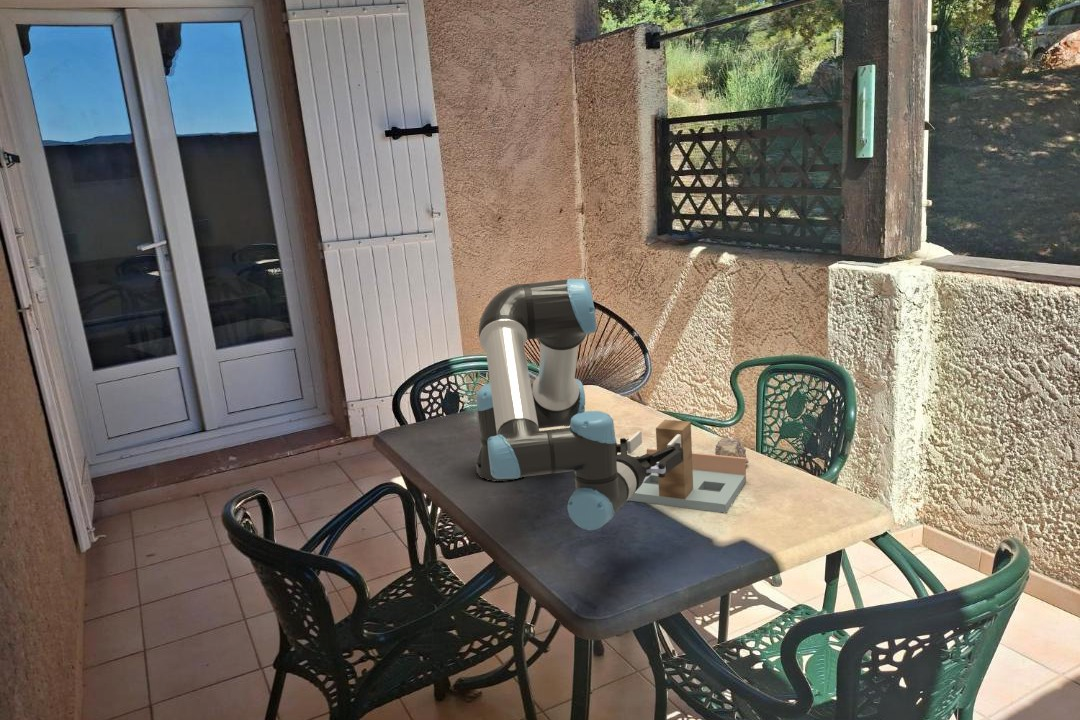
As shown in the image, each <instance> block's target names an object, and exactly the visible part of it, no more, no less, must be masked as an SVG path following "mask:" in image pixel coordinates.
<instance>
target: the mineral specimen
mask: <svg viewBox="0 0 1080 720" xmlns="http://www.w3.org/2000/svg"><path fill="white" fill-rule="evenodd" d="M714 450H715V452H714V455H722V456H732V457H742V458H746V464H748V463H749V459H748V458H747V454H746V452H747V451H746V450H747V449H746V448H745V446H744V444H743V443H742V441H741V440H739V439H738V438H737V439H736V438H729V437H722V438H721V439H719V441H717V443H716V444H715V449H714Z"/></svg>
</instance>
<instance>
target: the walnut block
mask: <svg viewBox="0 0 1080 720" xmlns="http://www.w3.org/2000/svg"><path fill="white" fill-rule="evenodd" d="M677 434H680V435H681V448H682V449H683V460H684V461H683V462H681V463H680V464H678V465H677V466H676V467H674V468H673V469H671V470H670V471H669V472H667V473H666V476H665V477H659V475H658V483H659V496H662V497H670V498H678V499H686V498H687V496H688V495H689V494H690V493H691V491H692V490H693V467H692V453H693V448H692V447H693V445H692V443H693V442H692V422H691V421H689V420H688V421H687V420H675V419H663V420H662V421H661V422H660V423H659V424H658V426H656V428H655V437H656V438H655V439H656V442H655V443H656V449H657V452H658V451H661V450H663V449H666V448H667V444H668V443H669V442H670V441H671V440H672V439H673V438H674V437H675V436H676V435H677Z"/></svg>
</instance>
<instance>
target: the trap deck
mask: <svg viewBox="0 0 1080 720" xmlns="http://www.w3.org/2000/svg"><path fill="white" fill-rule="evenodd" d="M656 452H657V448H649V447H648V448H646V454H650V455H651V454H653V453H656ZM746 458H747V457H746ZM746 458H742V457H732V456H722V455H715V454H712V453H711V454H709V453H698V452H692V467H693V490H692V491H691V493H690V494H689V495H688V496H687V498H686V499H678V498H670V497H662V496H659V483H658V474H657V473H651V475H649V476H647V477H645V479H644V481H643V483H642V485H641V486H640V487H639V488H638V489H637V491H636V492H635V493H634V494H633V495H632V496H631V497H630V498H629V499H628V500H627V501H631V502H638V503H647V504H653V505H660V504H661V505H660V506H662V505H663V506H667V505H670V506H669V507H675V506H677V507H676V508H685V509H693V510H698V509H699V511H706V510H707V511H709V512H714V511H716V512H715V513H721V512H725V513H724V514H727V513H728V511H729V509H730V508H731V506H732V505H733V503H734V502H733V501H735V500H736V498H737V497H738V495H739V494H740V492H741V491H742V489H743V488H744V486H745V485H746V482H747V467H746V465H747V463H746ZM731 504H732V505H731ZM729 507H730V508H729Z"/></svg>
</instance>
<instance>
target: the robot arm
mask: <svg viewBox="0 0 1080 720" xmlns="http://www.w3.org/2000/svg"><path fill="white" fill-rule="evenodd" d="M595 310H596V309H595V305H594V298H593V293H592V290H591V284H590V283H589V282H588V280H586V279H584V278H567V279H560V280H559V279H557V280H550V281H549V280H548V281H539V282H531V283H517V284H514V285H510V286H508V287H506V288H504V289H502V290H501V291H499V292H498V293H497V294H496V295H495V296H494V297H492V299H491V300H490V301H489V302H488V303H487V305H486V307H485V308H484V310H483V312H482V315H481V317H480V320H479V324H478V325H479V326H478V340H479V345H480V347H481V349H482V350H483V351H484V352H485V355H486V361H487V362H486V363H487V369H488V376H489V383H486V384H485V385H483V386H481V387H480V388H479V389H478V391H477V392H476V411H477V415H478V418H477V419H478V426H479V437H480V447H479V448H480V449H479V452H478V457H477V460H476V461H477V462H476V474H477V473H478V475H479V476H481V477H482V478H485V479H489V480H496V481H497V480H498V481H503V480H504V482H507V481H506V480H513V479H518V478H521V479H523V478H522V477H524V478H527V477H532V476H533V477H534V476H543V475H549V474H559V473H567V472H568V473H569V472H574V473H573V474H574V483H575V490H574V491H573V493H572V494H571V496H570V497H569V499H568V502H567V508H566V509H567V511H568V512H567V513H568V515H569V518H570V519H571V520H572V522H573V523H574V524H575V525H576V526H578V527H579V528H580V529H583V530H587V531H595V530H598V529H600V528H602V527H603V526H604V525H606V524H607V523H608V522H610V521H611V520H612V519H613V517H614V516H615V515H616V514H617V513H618V511H619V510H620V509H621V508H622V507H623V506H624V505H625V503H627V501H629V500H628V499H629V498H630V497H631V496H632V495H633V494H634V493H635V492H636V491H637V489H638V488H639V487H640V486H641V485H642V483H643V481H644V479H645V477H647V476H649V475H651V473H657V474H658V475H659V477H665V476H666V473H667V472H669V471H670V470H671V469H673V468H674V467H676V466H677V465H678V464H680V463H681V462H683V461H684V460H683V449H682V448H681V435H680V434H677V435H676V436H675V437H674V438H673V439H672V440H671V441H670V442H669V443H668V444H667V448H666V449H663V450H661V451H658V452H656V453H653V454H651V455H650V454H647V453H645V454H643V455H641V456H640V455H639V456H638V455H637V456H632V453H634V451H636V450H637V449H638V448H639V447H640V446H641V445H642V443H643V437H642V436H643V435H642V434H643V433H642V430H637V431H635V433H634V434H633V435H632V436H631V437H630V438H624V437H623V438H620V439H619V443H617V438H616V431H615V423H614V419H613V417H612V416H611V415H610V414H609V413H606V412H603V411H597V410H590V411H589V410H587V411H586V407H585V406H586V394H585V388H584V385H583V382H582V381H581V380H580V379H578V378H576V370H577V362H578V361H577V360H578V354H579V353H578V351H579V346H580V345H581V344H582V343H584V341H585V339H586V337H587V335H591V334H594V333H596V332H597V330H598V325H597V317H596V311H595ZM528 340H537V341H538V342H539V345H540V346H539V366H538V367H539V369H538V375H537V376H536V377H535V379H534V381H533V383H532V382H531V378H530V373H529V367H528V362H527V361H528V360H527V356H526V349H525V345H526V343H527V341H528ZM557 427H564V428H557ZM549 428H551V429H549ZM552 428H554V429H552ZM540 429H544V430H540ZM546 429H547V430H546ZM618 453H619V454H618ZM629 454H630V455H629ZM478 475H477V476H478ZM479 476H478V477H479ZM482 478H481V479H482ZM518 480H519V479H518ZM513 481H514V480H513Z"/></svg>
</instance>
